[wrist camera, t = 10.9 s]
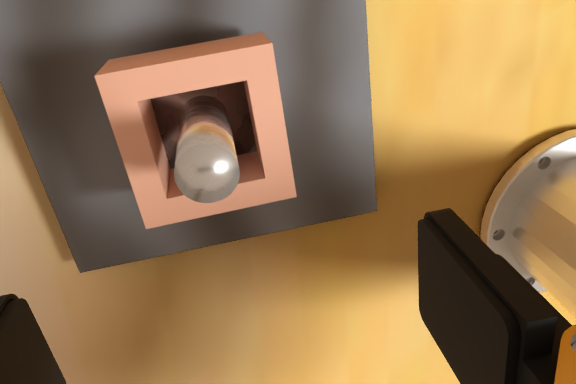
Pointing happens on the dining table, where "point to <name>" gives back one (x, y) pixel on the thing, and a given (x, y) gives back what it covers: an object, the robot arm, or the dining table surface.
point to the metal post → (205, 138)
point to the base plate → (114, 179)
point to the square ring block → (187, 77)
